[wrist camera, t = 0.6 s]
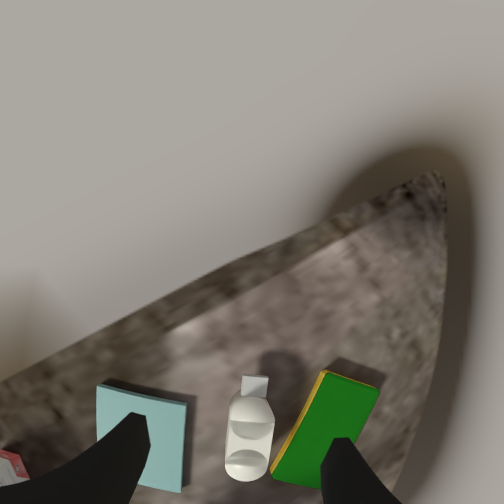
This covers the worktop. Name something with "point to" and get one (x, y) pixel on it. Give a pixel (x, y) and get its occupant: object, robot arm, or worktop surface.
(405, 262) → the worktop surface
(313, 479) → the dish sponge
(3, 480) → the ink cartridge box
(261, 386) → the white rounded piece
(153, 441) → the teal mat
